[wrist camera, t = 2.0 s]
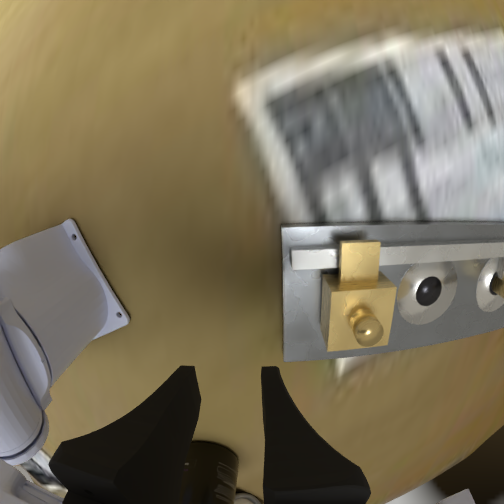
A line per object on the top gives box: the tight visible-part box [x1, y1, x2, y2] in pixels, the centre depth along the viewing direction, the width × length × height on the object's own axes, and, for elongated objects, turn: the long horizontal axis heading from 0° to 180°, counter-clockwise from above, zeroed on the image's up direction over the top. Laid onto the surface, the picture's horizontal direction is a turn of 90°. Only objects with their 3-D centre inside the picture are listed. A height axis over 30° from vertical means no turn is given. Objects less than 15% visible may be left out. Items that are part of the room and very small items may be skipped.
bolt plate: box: [281, 221, 504, 362], centre depth 17 cm, size 22×10×7 cm, turn 93°
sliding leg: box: [320, 240, 397, 352], centre depth 16 cm, size 4×6×4 cm, turn 3°
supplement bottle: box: [179, 442, 238, 504], centre depth 21 cm, size 7×7×12 cm
